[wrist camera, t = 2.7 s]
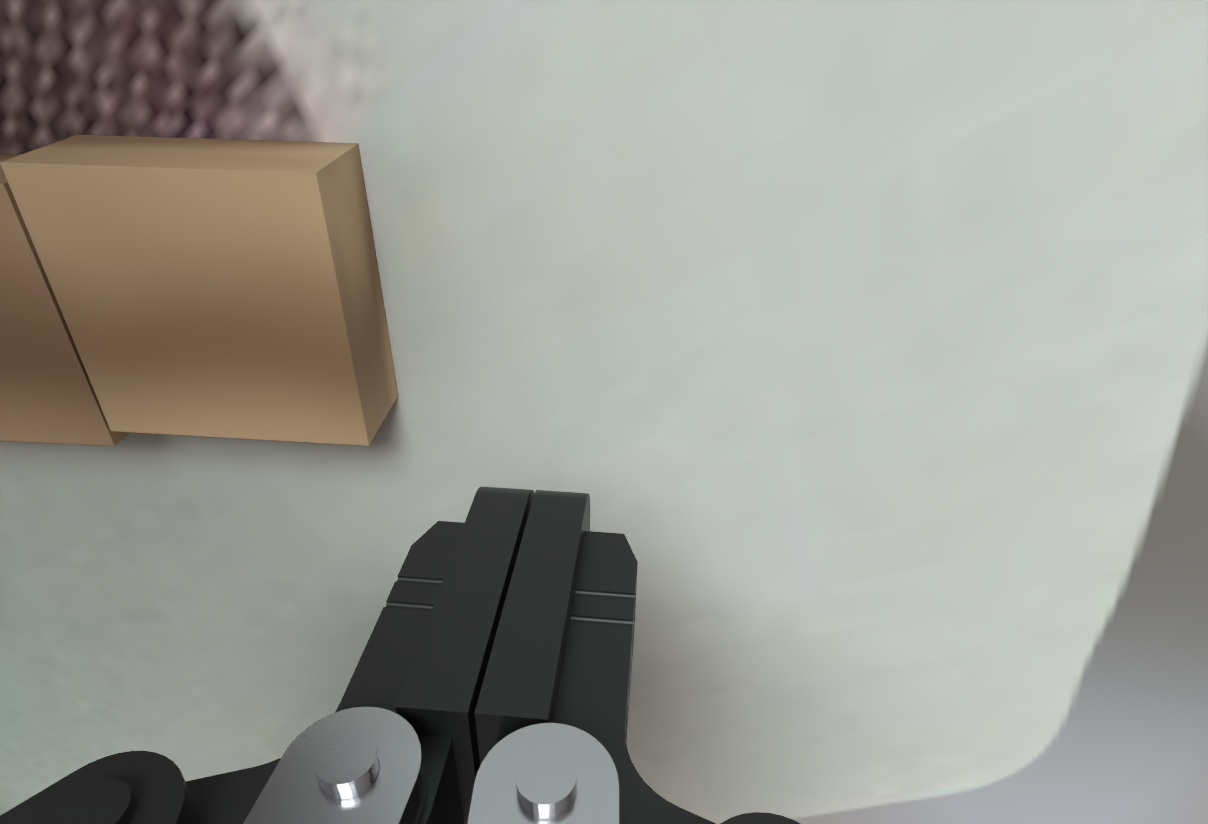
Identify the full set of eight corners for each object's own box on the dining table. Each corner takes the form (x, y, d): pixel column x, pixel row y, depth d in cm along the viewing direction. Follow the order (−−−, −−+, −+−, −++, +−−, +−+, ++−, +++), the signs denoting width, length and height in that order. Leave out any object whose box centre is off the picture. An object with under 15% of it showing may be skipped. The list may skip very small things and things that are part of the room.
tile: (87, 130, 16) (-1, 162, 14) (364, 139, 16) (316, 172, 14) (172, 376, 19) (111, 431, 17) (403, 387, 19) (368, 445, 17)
